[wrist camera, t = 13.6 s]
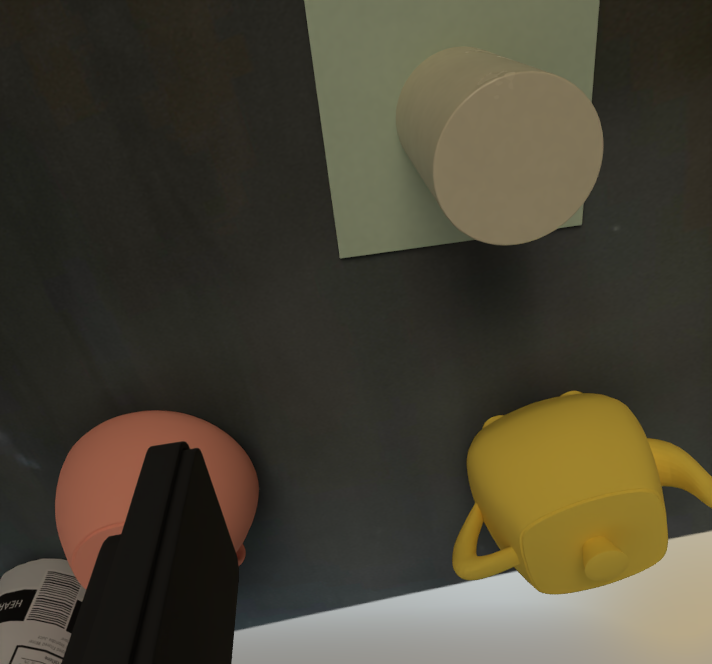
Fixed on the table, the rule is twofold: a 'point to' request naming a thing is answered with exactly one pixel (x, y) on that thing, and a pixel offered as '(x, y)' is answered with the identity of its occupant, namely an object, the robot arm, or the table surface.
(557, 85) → the beige cylinder
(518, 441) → the teapot
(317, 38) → the mat
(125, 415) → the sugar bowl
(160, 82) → the table surface
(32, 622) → the supplement can
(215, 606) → the robot arm
